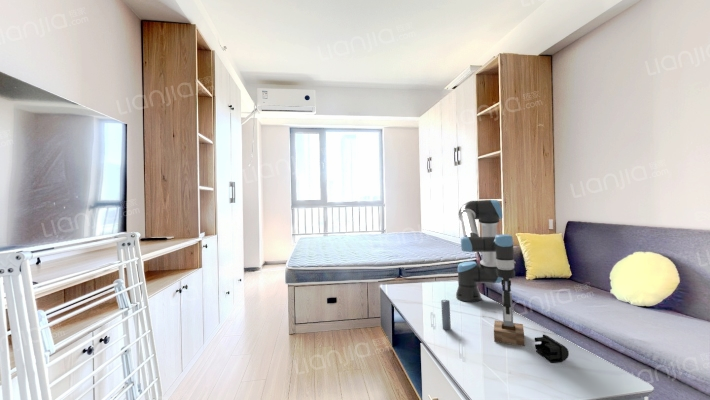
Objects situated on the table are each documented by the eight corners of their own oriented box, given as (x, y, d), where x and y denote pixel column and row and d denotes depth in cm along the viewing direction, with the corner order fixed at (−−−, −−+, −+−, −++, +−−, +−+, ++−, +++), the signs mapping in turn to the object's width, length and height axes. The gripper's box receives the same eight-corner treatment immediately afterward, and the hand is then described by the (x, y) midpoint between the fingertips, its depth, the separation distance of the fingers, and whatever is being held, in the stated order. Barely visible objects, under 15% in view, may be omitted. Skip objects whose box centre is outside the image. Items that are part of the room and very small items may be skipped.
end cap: (569, 362, 113) (568, 345, 113) (552, 364, 112) (551, 346, 112) (550, 349, 123) (549, 333, 123) (534, 351, 122) (533, 335, 122)
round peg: (443, 326, 150) (442, 299, 150) (451, 327, 148) (450, 300, 148) (441, 329, 146) (440, 301, 146) (450, 330, 144) (448, 302, 144)
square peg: (503, 322, 137) (502, 292, 137) (513, 323, 135) (511, 293, 135) (503, 325, 133) (501, 294, 133) (513, 326, 131) (511, 295, 132)
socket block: (495, 330, 142) (494, 320, 142) (523, 334, 137) (522, 324, 137) (494, 341, 131) (493, 330, 132) (524, 346, 126) (524, 334, 126)
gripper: (515, 272, 125) (518, 327, 125) (514, 264, 140) (516, 313, 140) (495, 271, 129) (498, 324, 128) (496, 264, 144) (499, 311, 143)
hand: (508, 318), depth 134 cm, fingers closed on square peg, 4 cm apart
